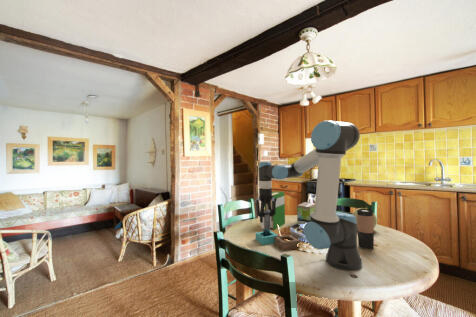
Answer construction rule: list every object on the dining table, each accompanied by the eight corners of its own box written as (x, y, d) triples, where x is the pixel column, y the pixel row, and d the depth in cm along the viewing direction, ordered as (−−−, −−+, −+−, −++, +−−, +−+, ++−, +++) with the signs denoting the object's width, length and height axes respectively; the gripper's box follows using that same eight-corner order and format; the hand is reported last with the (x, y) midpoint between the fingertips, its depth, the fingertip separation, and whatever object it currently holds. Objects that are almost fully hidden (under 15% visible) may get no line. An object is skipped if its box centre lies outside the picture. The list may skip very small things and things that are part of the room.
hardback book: (274, 230, 154) (273, 195, 154) (265, 228, 158) (264, 194, 158) (285, 223, 168) (284, 191, 168) (276, 222, 172) (275, 191, 172)
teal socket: (278, 244, 128) (278, 235, 128) (262, 246, 125) (262, 238, 125) (270, 238, 137) (270, 230, 137) (255, 240, 134) (255, 232, 134)
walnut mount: (300, 249, 120) (299, 240, 120) (283, 252, 116) (283, 243, 116) (290, 243, 129) (289, 234, 129) (274, 245, 126) (274, 236, 126)
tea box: (310, 227, 157) (310, 206, 157) (297, 225, 163) (296, 205, 163) (317, 222, 169) (316, 202, 169) (304, 220, 175) (303, 201, 175)
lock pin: (272, 238, 129) (271, 210, 129) (264, 239, 128) (263, 211, 128) (268, 235, 134) (268, 208, 134) (260, 236, 133) (260, 209, 133)
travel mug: (376, 250, 117) (375, 211, 117) (360, 249, 118) (359, 211, 118) (370, 244, 124) (369, 208, 124) (356, 243, 126) (355, 208, 126)
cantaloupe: (348, 230, 149) (347, 207, 149) (356, 225, 158) (355, 204, 158) (372, 235, 138) (372, 211, 138) (380, 230, 147) (379, 207, 147)
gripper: (275, 186, 137) (276, 224, 137) (249, 188, 132) (250, 227, 132) (281, 187, 130) (282, 227, 130) (254, 189, 125) (255, 231, 125)
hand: (266, 227), depth 131 cm, fingers closed on lock pin, 4 cm apart
